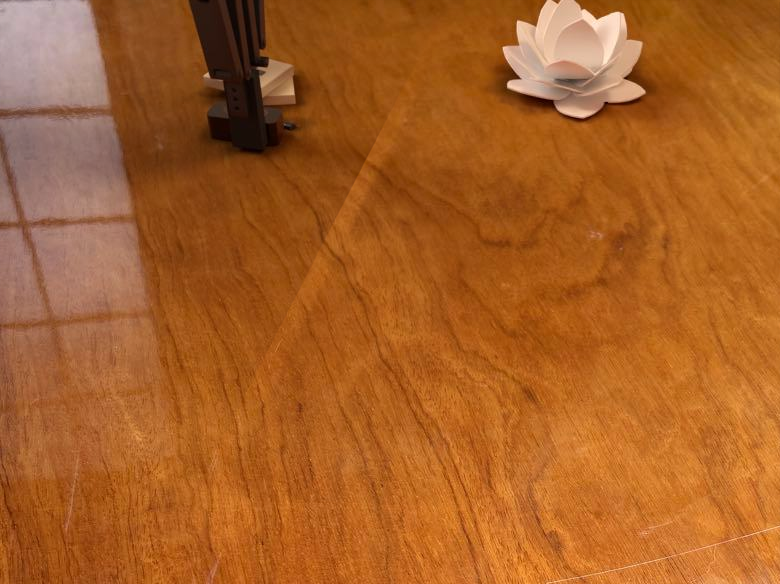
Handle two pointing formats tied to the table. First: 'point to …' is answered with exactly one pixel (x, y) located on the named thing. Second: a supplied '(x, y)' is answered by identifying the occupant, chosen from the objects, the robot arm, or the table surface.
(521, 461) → the table surface
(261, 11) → the robot arm
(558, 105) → the lotus flower
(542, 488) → the table surface
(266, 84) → the tile pile
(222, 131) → the brown electronic gadget
